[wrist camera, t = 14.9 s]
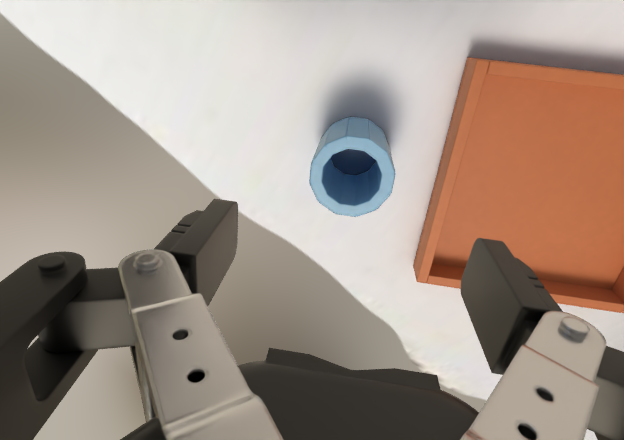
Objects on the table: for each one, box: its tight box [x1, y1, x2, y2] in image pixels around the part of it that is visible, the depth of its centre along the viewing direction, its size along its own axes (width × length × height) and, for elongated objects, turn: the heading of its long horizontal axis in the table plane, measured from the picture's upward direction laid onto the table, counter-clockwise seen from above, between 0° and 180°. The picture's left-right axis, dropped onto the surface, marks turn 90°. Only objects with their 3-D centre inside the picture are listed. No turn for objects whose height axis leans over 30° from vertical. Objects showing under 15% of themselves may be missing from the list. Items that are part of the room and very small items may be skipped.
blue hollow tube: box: [309, 117, 395, 217], centre depth 26 cm, size 5×5×6 cm
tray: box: [413, 57, 624, 313], centre depth 27 cm, size 17×17×2 cm
